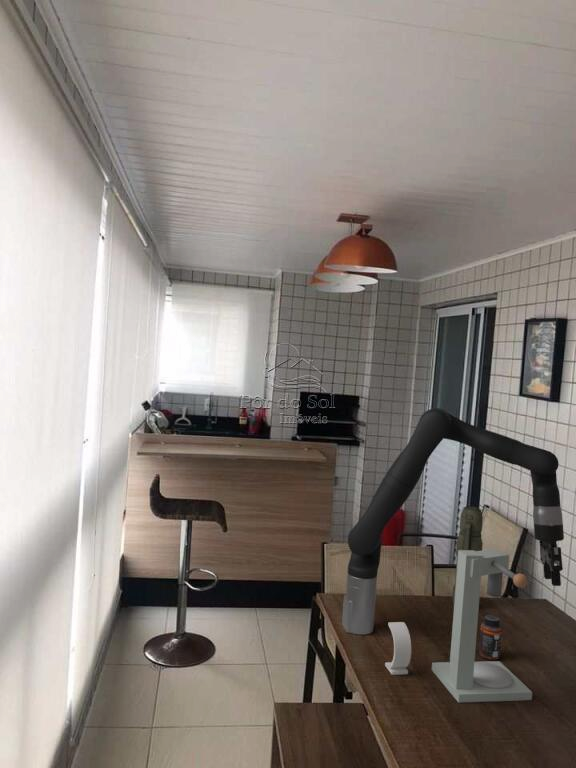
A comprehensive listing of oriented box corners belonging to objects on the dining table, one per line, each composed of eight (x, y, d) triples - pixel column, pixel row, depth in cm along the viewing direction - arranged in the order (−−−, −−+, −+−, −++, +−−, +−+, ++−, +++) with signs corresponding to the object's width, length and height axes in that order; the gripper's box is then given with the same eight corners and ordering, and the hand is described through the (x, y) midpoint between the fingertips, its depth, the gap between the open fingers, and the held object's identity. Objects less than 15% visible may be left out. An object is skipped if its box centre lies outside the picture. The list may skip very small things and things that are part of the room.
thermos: (450, 608, 209) (457, 509, 208) (453, 597, 220) (461, 502, 219) (476, 613, 206) (484, 512, 205) (478, 602, 216) (486, 506, 216)
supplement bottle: (501, 662, 171) (504, 623, 170) (479, 659, 172) (482, 620, 172) (498, 653, 177) (501, 615, 176) (477, 649, 178) (480, 612, 178)
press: (477, 725, 138) (489, 572, 138) (431, 669, 164) (441, 539, 163) (555, 722, 142) (567, 572, 141) (498, 668, 167) (508, 540, 166)
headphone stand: (400, 664, 165) (403, 622, 165) (409, 676, 159) (412, 631, 159) (385, 665, 164) (388, 622, 164) (393, 676, 158) (396, 632, 158)
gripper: (528, 519, 174) (532, 576, 172) (539, 525, 160) (544, 587, 158) (555, 519, 173) (560, 577, 171) (569, 525, 159) (574, 588, 157)
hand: (552, 582), depth 165 cm, fingers open, 8 cm apart
